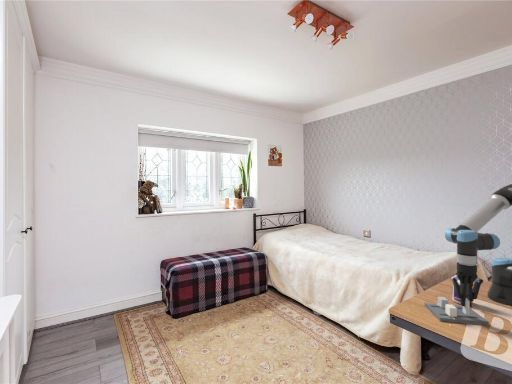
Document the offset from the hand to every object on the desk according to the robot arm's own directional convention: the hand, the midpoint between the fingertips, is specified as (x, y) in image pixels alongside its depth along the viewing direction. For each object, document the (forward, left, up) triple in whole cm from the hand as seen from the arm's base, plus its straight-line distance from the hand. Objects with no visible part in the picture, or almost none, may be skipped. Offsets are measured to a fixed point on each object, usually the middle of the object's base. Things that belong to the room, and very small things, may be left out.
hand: (466, 313), depth 125 cm
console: (+3, -4, -3) cm, 6 cm away
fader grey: (+6, -9, -1) cm, 11 cm away
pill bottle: (-9, -20, -3) cm, 22 cm away
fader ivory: (+6, 0, -1) cm, 7 cm away
